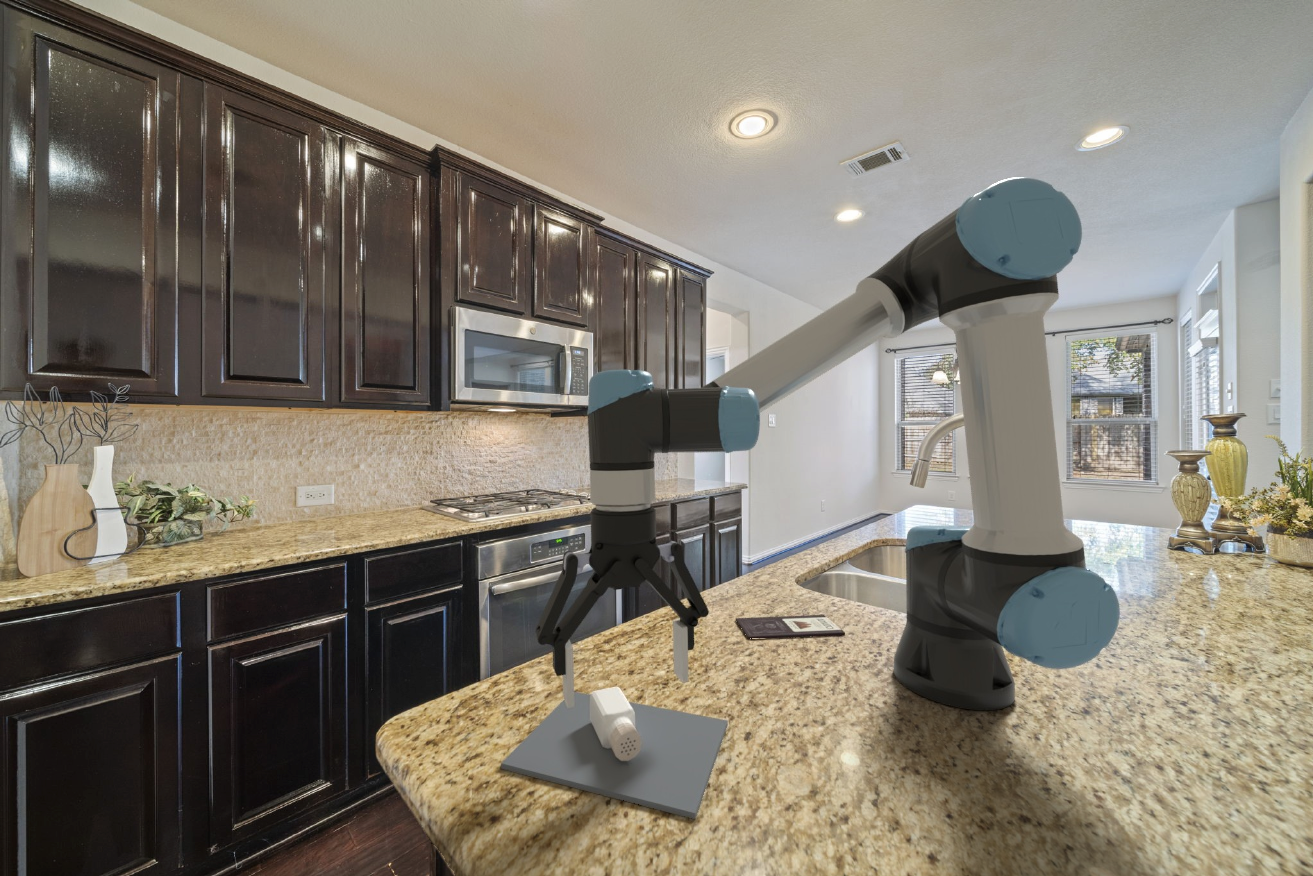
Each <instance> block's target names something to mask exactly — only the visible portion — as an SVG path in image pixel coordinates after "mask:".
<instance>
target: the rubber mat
mask: <svg viewBox="0 0 1313 876" xmlns="http://www.w3.org/2000/svg"><path fill="white" fill-rule="evenodd" d="M590 696H591V693H590V694H589V693H583V692H579V691H574V707H571V708H567V705H566V703H565V700H564V699H563V700H562V701H561V702H560V703H559V704H558V705H557V706H556V707H555V708H554V710H552V711H551V712H550V713H549V715H547V716H546V717H545V718H544V719H543V720H542V721H541V722H540V723H539V724H538V725H537V726H536V727H535V728H534V729H533V730H532V731H531V732H530V733H529V734H528V735H527V736H526V737H525V738H524V739H523V741H521V742H520V744H518V746H516V747H515V748H514V750H513V751H512V752H510V754H509V755H507V756H506V757H505V758H504V760H502V762H501V763H500V769H501V770H504V771H508V772H512V773H516V774H520V775H524V776H529V777H532V778H536V779H539V780H543V781H545V782H546V781H547V782H551V783H553V784H558V785H562V786H564V787H569V788H574V789H577V790H582V791H585V792H589V793H593V794H596V795H600V796H604V797H608V798H611V799H615V800H619V799H620V801H623V800H624V801H623V802H626V801H627V803H630V804H634V803H635V804H634V805H638V804H639V806H641V807H646V808H650V809H653V808H654V810H658V811H662V812H664V813H669V814H673V815H676V816H681V817H684V816H685V817H684V818H688V817H689V818H688V819H691V818H692V820H695V819H697V818H698V817H697V816H698V814H697V813H699V811H700V807H701V805H700V804H702V802H703V799H702V798H704V796H705V793H704V792H706V790H707V787H708V784H709V782H708V781H710V779H711V776H710V775H712V773H713V770H714V766H715V764H716V760H717V758H718V755H719V753H720V749H721V746H722V744H721V743H723V741H724V738H723V737H725V735H726V732H725V731H727V729H728V725H729V723H728V722H729V720H728V719H722V718H716V717H711V716H706V715H701V714H695V713H690V712H683V711H679V710H674V709H668V708H662V707H658V706H653V705H647V704H642V703H638V702H632V701H628V702H629V703H630V705H631V707H632V708H633V710H634V712H635V728H636V730H637V732H638V733H639V735H640V737H641V741H642V744H641V749H640V751H639V753H638V754H637V755H636V757H634V758H633V759H631V760H629V761H621V760H620V759H618V758H617V757H616V756H615V754H614V752H613V750H612V748H608V749H607V748H604V747H603V746H602V744H601V742H600V740H599V738H598V735H597V733H596V731H595V729H594V727H593V725H592V722H591V720H590ZM726 728H727V729H726ZM724 734H725V735H724ZM722 740H723V741H722ZM717 754H718V755H717ZM714 763H715V764H714ZM712 769H713V770H712ZM711 772H712V773H711ZM709 778H710V779H709ZM707 783H708V784H707ZM706 786H707V787H706ZM705 789H706V790H705ZM703 795H704V796H703ZM628 801H629V802H628ZM701 801H702V802H701ZM631 802H632V803H631ZM647 806H648V807H647ZM698 810H699V811H698Z"/></svg>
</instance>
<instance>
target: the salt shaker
mask: <svg viewBox="0 0 1313 876" xmlns="http://www.w3.org/2000/svg"><path fill="white" fill-rule="evenodd" d="M590 695H591V696H590V720H591V722H592V725H593V727H594V729H595V731H596V733H597V735H598V738H599V740H600V742H601V744H602V746H603V747H604V748H607V749H608V748H612V750H613V752H614V754H615V756H616V757H617V758H618V759H620V760H621V761H629V760H631V759H633V758H634V757H636V755H637V754H638V753H639V751H640V749H641V744H642V741H641V737H640V735H639V733H638V732H637V730H636V728H635V712H634V710H633V708H632V707H631V705H630V703H629V702H630V701H629V700H628V699H627V697H626V696H625V694H624V692H623V691H622V690H621V688H620V687H618V686H613V687H607V688H602V689H597V690H594V691H591V693H590Z"/></svg>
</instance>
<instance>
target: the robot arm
mask: <svg viewBox="0 0 1313 876" xmlns="http://www.w3.org/2000/svg"><path fill="white" fill-rule="evenodd" d="M1082 238H1083V228H1082V222H1081V218H1080V216H1079V213H1078V210H1077V208H1076V206H1075V205H1074V204H1073V202H1072V201H1071V200H1070V199H1069V198H1068V196H1067V195H1066V194H1065V193H1063V191H1061V190H1059V191H1058V190H1057V189H1055V188H1054V186H1053V185H1052V184H1050V183H1049V182H1046V181H1044V180H1041V179H1036V178H1033V177H1011V178H1007V179H1003V180H1000V181H997V182H996V183H993V184H991V185H990V186H988V187H987V188H985V189H984V190H982V191H980V192H977V193H975V194H972V195H971V196H969V197H968V198H967V199H965V200H964V201H963V203H962V204H961V205H960V206H959V207H958V208H956V209H954V210H953V211H952V212H950V213H949V214H948V215H946V216H944V217H943V218H941V220H939V221H937V222H936V223H935V224H933V225H932V226H931V227H929V228H928V229H926V230H925V231H922V233H920V234H918V235H917V236H916V237H915V238H913V240H912V241H910V242H909V243H908V244H907V245H905V246H904V247H903V248H902V249H901V250H900V251H899V252H898V253H896V254H895V255H894V256H893V257H892V258H891V259H890V260H888V261H887V262H886V263H884V264H883V265H882V266H880V267H879V268H878V269H876V270H875V271H874V272H872V273H871V274H870V275H868V276H866V277H865V278H863V279H861V280H860V281H859V282H858V284H857V285H856V288H855V292H854V293H852V294H850V295H849V296H847V297H846V298H844V299H842V300H841V301H839V302H838V303H836V304H835V305H833V306H831V307H829V308H828V309H826V310H825V311H823V312H822V313H820V314H818V315H816V316H815V317H813V318H811V319H810V320H808V321H807V322H805V323H804V324H802V325H801V326H798V327H797V328H796V329H794V330H792V331H791V332H789V333H788V334H786V335H784V336H783V337H781V338H779V339H778V340H776V341H774V342H772V344H769V345H768V346H765V348H763V349H762V350H760V351H759V352H757V353H755V354H753V355H752V356H751V357H749V358H747V359H746V360H744V361H742V362H741V363H739V364H738V365H736V366H734V367H733V368H730V369H729V370H727V371H726V372H724V373H723V374H721V375H720V376H718V377H716V378H714V379H713V380H712V381H711V382H709V383H707V384H705V385H704V386H702V387H692V388H691V387H689V388H661V387H655V384H654V380H653V376H652V373H650V372H649V371H646V370H640V369H635V370H634V369H633V370H632V369H631V370H630V369H609V370H602V371H598V372H596V373H594V374H593V375H592V376H591V377H590V379H589V382H588V400H587V401H588V403H587V405H588V406H587V413H586V414H587V428H588V429H587V430H588V431H587V433H588V434H587V435H588V457H589V492H590V493H589V497H590V498H589V499H590V501H589V502H590V503H591V504H592V505H594V506H595V507H593V508H592V509H591V511H590V513H589V514H590V549H589V551H588V553H585V552H584V553H578V552H576V553H574V551H572V550H567V551H565V552H563V556H562V566H561V572H560V574H559V577H558V578H557V581H556V583H555V585H554V588H553V589H552V592H551V595H550V596H549V598H548V601H547V603H546V606H545V608H544V609H543V612H542V614H541V617H540V618H539V621H538V623H537V625H536V626H535V630H534V634H535V637H536V639H537V642H538V644H539V645H541V646H545V645H550V646H551V647H552V667H553V670H554V674H555V676H556V677H561V676H562V696H563V700H565V703H566V705H567V708H571V707H574V692H575V678H574V676H575V672H574V671H575V670H574V666H575V665H574V646H573V644H572V642H571V640H570V639H571V638H572V636H573V635H574V633H576V631H577V630H578V628H579V626H580V625H581V624H582V622H583V621H584V620H585V618H586V616H588V614H589V613H590V611H591V610H592V608H593V607H594V606H595V604H596V603H597V602H598V600H599V599H600V598H601V597H602V596H604V594H605V593H606V592H607V590H608V589H609V588H610V589H613V590H614V591H616V590H617V591H618V590H623V589H624V588H627V587H629V588H639V587H641V585H642V584H644V583H645V582H646V583H648V585H649V586H650V587H651V588H652V589H653V590H654V591H655V592H656V593H657V594H658V596H659V597H660V598H661V599H662V600H663V601H664V602H665V603H666V605H667V606H669V607H670V609H671V610H672V611H673V612H674V613H675V614H676V616H678V617H679V618H678V619H672V644H673V645H672V646H673V648H672V649H673V652H672V653H673V674H675V676H676V678H678V679H679V680H680V682H682V683H683V684H684V683H689V682H690V681H689V651H693V650H694V647H695V628H696V627H697V626H698V625H699V624H698V623H699V619H700V618H706V617H708V615H709V613H710V612H709V611H710V610H709V609H708V606H707V604H706V602H705V600H704V597H702V595H701V592H700V590H699V588H698V587H697V585H696V583H695V581H694V579H693V577H692V574H691V573H690V571H689V569H688V566H687V565H686V563H685V561H684V560H685V559H684V551H683V546H682V544H680V543H678V542H676V541H674V540H672V539H668V540H667V541H666V542H665V543H663V544H660V545H658V543H657V517H656V516H657V515H656V512H657V511H656V508H654V506H652V505H651V504H653V503H654V502H655V501H656V500H657V499H656V479H655V478H656V476H655V475H656V474H655V473H656V472H655V454H668V453H669V454H670V453H725V454H729V453H733V452H743V451H744V452H746V451H751V450H752V449H753V448H755V447H756V445H757V442H758V441H759V437H760V427H761V413H762V412H764V411H765V410H767V409H769V408H770V407H772V406H773V405H775V404H777V403H778V402H780V401H782V400H784V399H785V398H786V397H788V396H790V395H791V394H793V393H795V392H796V391H798V390H799V389H801V388H803V387H805V386H806V385H808V384H809V383H811V382H812V381H814V380H816V379H818V378H819V377H821V376H823V374H825V373H827V372H829V371H831V370H832V369H833V368H835V367H837V366H839V365H841V364H842V363H844V362H845V361H847V360H848V359H850V358H851V357H853V356H855V355H856V354H858V353H859V352H862V351H863V350H864V349H866V348H868V347H869V346H871V345H873V344H874V343H876V342H877V341H879V340H881V339H882V338H887V339H894V338H897V337H899V336H900V335H902V334H904V333H905V332H907V331H908V330H911V329H912V328H915V327H917V326H919V325H922V324H923V323H926V322H929V321H931V320H934V319H937V318H938V320H939V323H941V324H943V325H944V326H946V327H948V328H949V329H951V330H952V331H953V333H954V334H955V344H956V354H957V363H958V364H957V365H958V373H959V374H958V375H959V383H960V384H959V385H960V394H961V395H960V396H961V403H962V404H961V406H962V414H963V424H964V433H965V443H966V445H965V446H966V453H967V464H968V474H969V482H970V485H969V486H970V493H971V494H970V495H971V503H972V504H971V505H972V515H973V523H974V524H973V525H919V526H913V527H911V528H910V529H909V530H908V531H907V533H906V542H905V549H904V552H905V564H906V565H905V567H906V568H905V571H906V572H905V574H906V576H905V578H906V579H905V583H906V586H905V587H906V588H905V589H906V594H905V595H906V596H905V597H906V601H905V602H906V623H905V626H904V629H903V631H902V634H901V636H900V640H899V642H898V645H897V648H896V650H895V654H894V656H893V673H894V676H895V678H896V679H897V681H898V682H899V683H900V684H902V685H903V686H904V687H905V688H907V689H908V690H910V691H912V692H913V693H915V694H917V695H919V696H921V697H923V698H926V699H928V700H931V701H934V702H936V703H940V704H943V705H946V706H950V707H954V708H960V709H967V710H974V711H995V710H997V711H998V710H1001V709H1005V708H1007V707H1010V706H1011V705H1012V704H1013V703H1014V702H1015V698H1016V692H1015V689H1016V687H1015V685H1016V683H1015V678H1014V676H1013V673H1012V670H1011V668H1010V664H1009V661H1008V660H1007V657H1006V653H1005V652H1004V649H1005V651H1006V652H1008V653H1009V654H1011V655H1014V656H1015V657H1018V658H1021V659H1024V660H1026V661H1028V662H1030V663H1033V665H1036V666H1039V667H1043V668H1046V669H1052V670H1065V669H1066V670H1067V669H1073V668H1076V667H1080V666H1082V665H1084V664H1087V663H1088V662H1090V661H1092V660H1094V659H1095V658H1096V657H1097V656H1099V655H1100V652H1101V651H1103V649H1104V648H1106V647H1108V646H1109V644H1110V643H1111V641H1112V639H1113V638H1114V636H1115V635H1116V632H1117V630H1118V626H1119V621H1120V615H1121V613H1120V612H1121V611H1120V610H1121V609H1120V602H1119V600H1118V599H1119V598H1118V595H1117V593H1116V592H1115V590H1114V588H1113V586H1112V585H1110V584H1109V583H1107V582H1106V580H1105V578H1103V577H1102V576H1100V575H1099V574H1098V573H1096V572H1094V571H1092V570H1091V569H1089V568H1087V566H1086V555H1085V547H1084V546H1085V544H1084V541H1083V539H1081V538H1080V537H1079V536H1077V535H1076V534H1075V533H1074V532H1072V531H1071V530H1069V529H1068V528H1067V526H1066V525H1065V523H1064V522H1065V520H1064V512H1063V500H1062V492H1061V481H1060V480H1061V479H1060V472H1059V462H1058V452H1057V442H1056V431H1055V422H1054V421H1055V420H1054V413H1053V412H1054V411H1053V403H1052V393H1051V381H1050V373H1049V371H1050V370H1049V362H1048V361H1049V360H1048V353H1047V351H1048V350H1047V342H1046V332H1045V331H1046V330H1045V323H1044V317H1045V315H1046V313H1047V311H1049V310H1050V309H1051V307H1052V306H1053V305H1054V304H1055V303H1056V302H1057V301H1058V300H1059V297H1060V296H1059V295H1060V294H1059V286H1058V285H1059V284H1058V276H1057V274H1059V273H1061V271H1063V270H1064V269H1065V268H1066V267H1067V266H1068V265H1069V264H1070V263H1071V262H1072V261H1073V259H1074V256H1075V255H1076V254H1077V253H1078V252H1079V249H1080V247H1081V244H1082ZM660 557H662V559H663V560H664V561H666V562H668V565H669V567H670V569H671V571H672V573H673V575H674V577H675V579H676V581H677V582H678V585H679V586H680V588H681V590H682V593H683V594H684V597H685V598H686V600H687V601H688V604H689V605H690V606H688V607H687V606H686V605H685V604H684V603H683V602H682V601H681V599H679V598H678V597H677V595H676V594H675V593H674V592H673V591H672V590H671V589H670V588H669V586H668V585H667V584H666V583H665V582H664V581H663V580H662V578H661V577H660V576H659V575H658V574H657V573H656V571H655V570H654V567H655V566H656V565H657V563H658V561H659V560H660ZM586 565H589V566H590V568H591V569H592V570H593V573H592V575H591V576H590V577H589V578H588V580H587V582H586V584H585V587H584V588H583V589H582V591H581V592H580V593H579V595H578V597H576V599H575V600H574V601H573V603H572V605H571V606H570V607H569V608H568V610H567V611H566V612H565V614H564V616H563V617H562V618H561V619H560V616H561V614H562V613H563V610H564V607H565V606H566V603H567V601H568V598H569V596H570V594H571V592H572V589H573V587H574V585H575V582H576V578H577V575H578V574H581V573H582V572H583V570H584V567H585V566H586ZM559 619H560V621H559ZM558 621H559V622H558ZM1003 648H1004V649H1003Z"/></svg>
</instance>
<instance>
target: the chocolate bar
mask: <svg viewBox="0 0 1313 876" xmlns="http://www.w3.org/2000/svg"><path fill="white" fill-rule="evenodd" d="M736 621H737V622H738V624H739V625H738V624H737V625H738V626H740V627H741V628H742V630H743V631H744V633H745V634H746V635H745V634H744V633H743V634H744V635H745V637H746V636H747V637H748V638H747V637H746V638H747V639H750V638H751V639H752V638H779V639H794V638H793V637H795V639H797V638H796V637H802V638H814V637H813V636H824V637H839V635H845V636H846V632H845V631H844V630H843V629H841V628H840V627H839V626H838V625H837V624H835V623H834V622H833V621H832V620H831V619H830V618H828V617H827V616H826V615H824V614H811V615H810V614H808V615H785V616H783V615H782V616H781V615H780V616H764V617H763V616H762V617H760V616H757V617H756V616H755V617H736V618H735V622H736ZM737 622H736V623H737ZM740 627H739V628H740ZM741 628H740V629H741ZM742 630H741V631H742ZM743 631H742V632H743ZM837 635H838V636H837ZM810 636H812V637H810ZM788 637H789V638H788ZM791 637H792V638H791Z"/></svg>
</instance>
